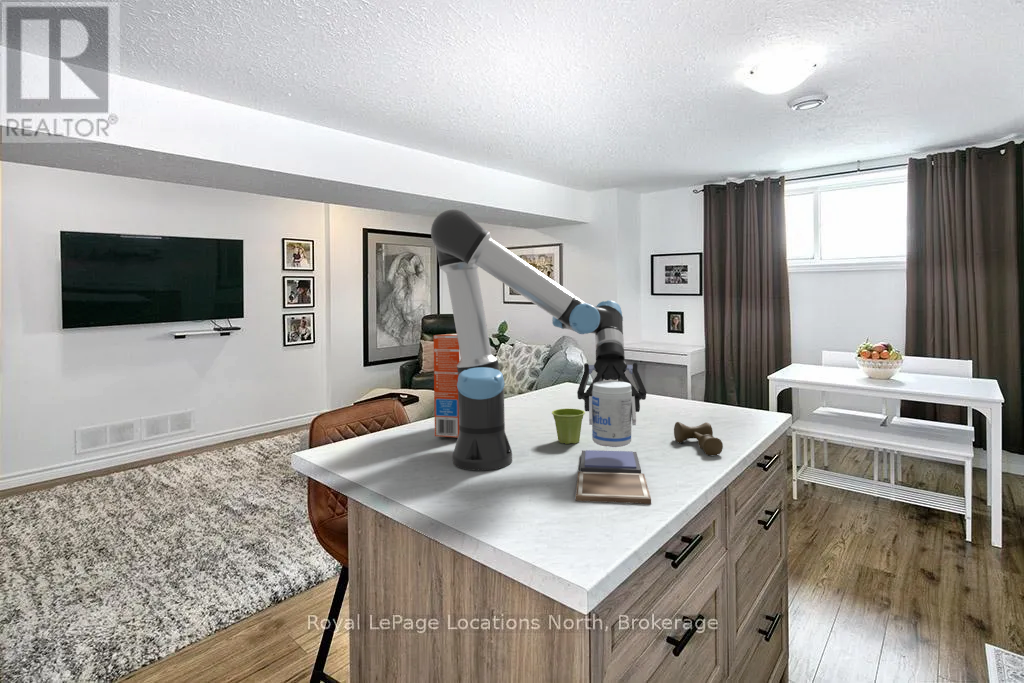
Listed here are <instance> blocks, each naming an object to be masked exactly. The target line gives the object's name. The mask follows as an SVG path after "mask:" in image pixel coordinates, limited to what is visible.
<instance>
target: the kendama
mask: <svg viewBox="0 0 1024 683" xmlns="http://www.w3.org/2000/svg"><path fill="white" fill-rule="evenodd" d="M673 436H674V440H675V441H676V443H678V442H679V443H678V444H682V443H683V442H685V441H687V440H689V439H696V440H697V445H698V447H699V448H700V449H701V450H703V452H704V455H705V454H706V455H707V456H708V455H717V454H719V455H720V454H721V453H722V451H723V450H724V449H723V448H724V444H723V442H722V440H721V439H720V438H719V437H714V435H713V428H712V425H711V424H710V423H709V422H704V423H703V422H702V424H700V425H695V426H688V425H686V424H684V423H681V422H679V421H676V422H675V424H674V426H673ZM717 456H718V455H717Z"/></svg>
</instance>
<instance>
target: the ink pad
mask: <svg viewBox="0 0 1024 683" xmlns="http://www.w3.org/2000/svg"><path fill="white" fill-rule="evenodd" d="M579 467H580V471H579V472H610V473H640V474H642V468H641V464H640V460H639V456H638V453H637V451H631V450H630V451H628V450H627V451H625V450H595V449H593V450H592V449H591V450H590V449H589V450H588V449H586V450H581V456H580V466H579Z"/></svg>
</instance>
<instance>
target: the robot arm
mask: <svg viewBox="0 0 1024 683" xmlns="http://www.w3.org/2000/svg"><path fill="white" fill-rule="evenodd" d="M491 234H492V233H491V232H490V231H489V230H487V229H486V228H484V227H483V226H482V225H480V223H478V222H477V221H475V219H473V218H472V217H471V216H470V215H469V214H468V213H466V212H464V211H462V210H459V209H447V210H445V211H442V212H441V213H439V214H438V215H436V217H435V218H434V220H433V222H432V224H431V228H430V235H431V236H430V237H431V239H432V240H431V241H432V243H433V244H434V246H435V249H436V254H437V260H438V265H439V269H440V270H442V272H444V273H445V275H446V280H447V285H448V291H449V297H450V301H451V302H450V303H451V309H452V313H453V314H452V315H453V319H454V320H453V321H454V325H455V331H456V334H457V338H458V344H459V350H460V356H461V360H460V361H459V363H458V364H457V370H458V382H457V388H458V406H459V435H458V438H457V439H456V443H455V445H454V449H453V453H452V463H453V466H455V467H457V468H459V469H463V470H467V471H491V470H492V471H493V470H497V469H502V468H505V467H508V466H509V465H510V464H511V463H512V462H513V451H512V448H511V445H510V441H509V440H508V436H507V433H506V428H505V427H506V426H505V425H506V424H505V423H506V422H505V420H506V419H505V385H506V384H505V379H504V375H503V373H502V372H501V370H500V364H499V359H498V357H496V356H495V355H493V354H492V349H491V342H490V336H489V330H488V327H487V326H488V325H487V320H486V313H485V307H484V301H483V296H482V289H481V284H480V278H479V272H478V268H480V269H482V270H483V271H485V272H486V273H488V274H489V275H491V276H492V277H494V278H495V279H497V280H498V281H499V282H501V283H502V284H504V285H505V286H507V287H509V288H510V289H511V290H513V291H514V292H516V293H517V294H519V295H520V296H522V297H524V298H525V299H526V300H528V301H530V302H531V303H532V304H534V305H535V306H537V307H538V308H540V309H542V310H543V311H545V312H546V313H547V314H549V315H551V317H552V319H551V320H552V322H551V323H552V326H553V327H555V328H559V329H560V328H561V329H562V330H564V329H565V330H571V331H572V332H576V333H577V334H579V335H588V334H595V363H594V364H589V363H587V362H586V363H584V364H583V374H582V377H581V379H580V383H579V385H578V388H577V391H576V393H577V399H578V400H583V402H584V406H583V407H584V412H588V422H589V426H590V425H591V426H592V425H593V423H592V391H593V384H594V383H596V382H601V381H621V382H627V383H630V384H631V390H632V391H631V392H632V422H631V426H636V424H637V413H639V412H640V409H641V403H640V401H642V400H646V398H647V390H646V388H645V385H644V383H643V381H642V377H641V375H640V372H639V371H638V368H639V367H638V365H639V364H638V363H637V362H634V363H632V364H627V363H626V361H625V342H624V326H623V321H624V317H623V312H622V307H621V305H620V304H619V303H617V301H614V300H606V301H604V300H602V301H600V302H599V303H597V304H596V305H595V306H594V305H592V304H591V303H589V302H588V303H587V302H586V301H584V300H583V299H581V298H580V297H578V296H577V295H575V294H574V293H572V292H571V291H569V290H568V289H566V288H565V287H564V286H562V285H561V284H559V283H558V282H556V281H555V280H553V279H552V278H550V277H549V276H547V275H546V274H544V273H543V272H541V270H539V269H537V268H536V267H534V266H533V265H531V264H530V263H528V262H527V261H525V260H524V259H522V258H521V257H520V256H518V255H516V254H515V253H514V252H512V251H511V250H509V249H508V248H507V247H505V246H503V245H502V244H500V243H499V242H497V241H496V240H494V239H493V238H492V235H491ZM593 371H594V372H595V373H597V374H596V375H595V377H594V379H593V380H592V382H591V383H590V385H589V386H588V388H587V385H588V382H589V378H590V375H591V374H592V373H593ZM627 371H628V372H629V374H630V375H631V376H632V381H633V382H634V384H635V386H634V385H633V383H631V381H630V380H629V378H628V377H627V376H626V372H627ZM586 388H587V389H586Z"/></svg>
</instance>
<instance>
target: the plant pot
mask: <svg viewBox="0 0 1024 683" xmlns="http://www.w3.org/2000/svg"><path fill="white" fill-rule="evenodd" d="M551 414H552V415H553V419H554V424H555V429H556V436H557V442H559V443H560V444H563V443H565V444H564V445H570V444H578V443H579V442H580V438H581V432H582V425H583V424H582V423H583V418H584V415H585V414H586V411H585V410H583V409H579V408H558V409H555V410H552V411H551Z"/></svg>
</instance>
